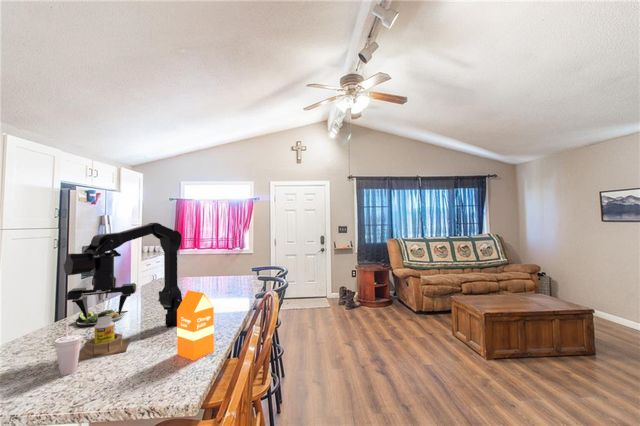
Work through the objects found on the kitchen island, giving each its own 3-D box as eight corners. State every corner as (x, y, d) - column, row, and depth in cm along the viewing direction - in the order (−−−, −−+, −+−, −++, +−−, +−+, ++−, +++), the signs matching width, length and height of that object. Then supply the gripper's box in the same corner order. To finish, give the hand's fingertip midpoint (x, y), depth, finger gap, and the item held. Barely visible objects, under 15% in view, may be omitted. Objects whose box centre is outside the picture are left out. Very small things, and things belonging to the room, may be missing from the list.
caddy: (130, 339, 110) (130, 329, 110) (125, 351, 99) (125, 341, 99) (83, 347, 104) (83, 336, 104) (72, 361, 93) (72, 349, 93)
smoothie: (65, 367, 89) (65, 320, 89) (88, 365, 90) (88, 319, 90) (47, 378, 83) (48, 327, 83) (72, 376, 83) (72, 326, 84)
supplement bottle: (93, 352, 98) (93, 321, 98) (95, 347, 102) (95, 317, 103) (114, 348, 101) (114, 317, 101) (114, 343, 105) (114, 314, 106)
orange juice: (193, 360, 92) (193, 295, 92) (176, 354, 96) (176, 292, 97) (214, 350, 98) (214, 290, 99) (197, 345, 103) (197, 287, 104)
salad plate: (124, 311, 147) (124, 302, 147) (132, 319, 134) (132, 309, 135) (74, 320, 134) (74, 310, 134) (77, 330, 121) (78, 319, 121)
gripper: (138, 265, 113) (137, 306, 113) (76, 269, 105) (76, 314, 105) (134, 269, 103) (134, 314, 103) (66, 274, 95) (65, 323, 95)
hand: (103, 316), depth 101 cm, fingers open, 9 cm apart
